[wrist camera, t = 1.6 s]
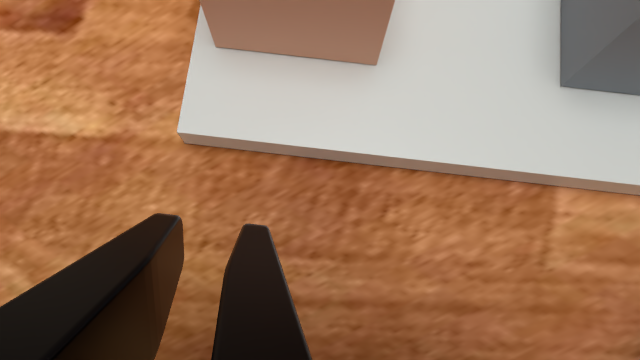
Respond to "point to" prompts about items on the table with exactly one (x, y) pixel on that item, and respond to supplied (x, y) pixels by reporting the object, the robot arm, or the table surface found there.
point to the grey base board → (425, 100)
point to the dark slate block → (601, 45)
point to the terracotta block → (302, 27)
